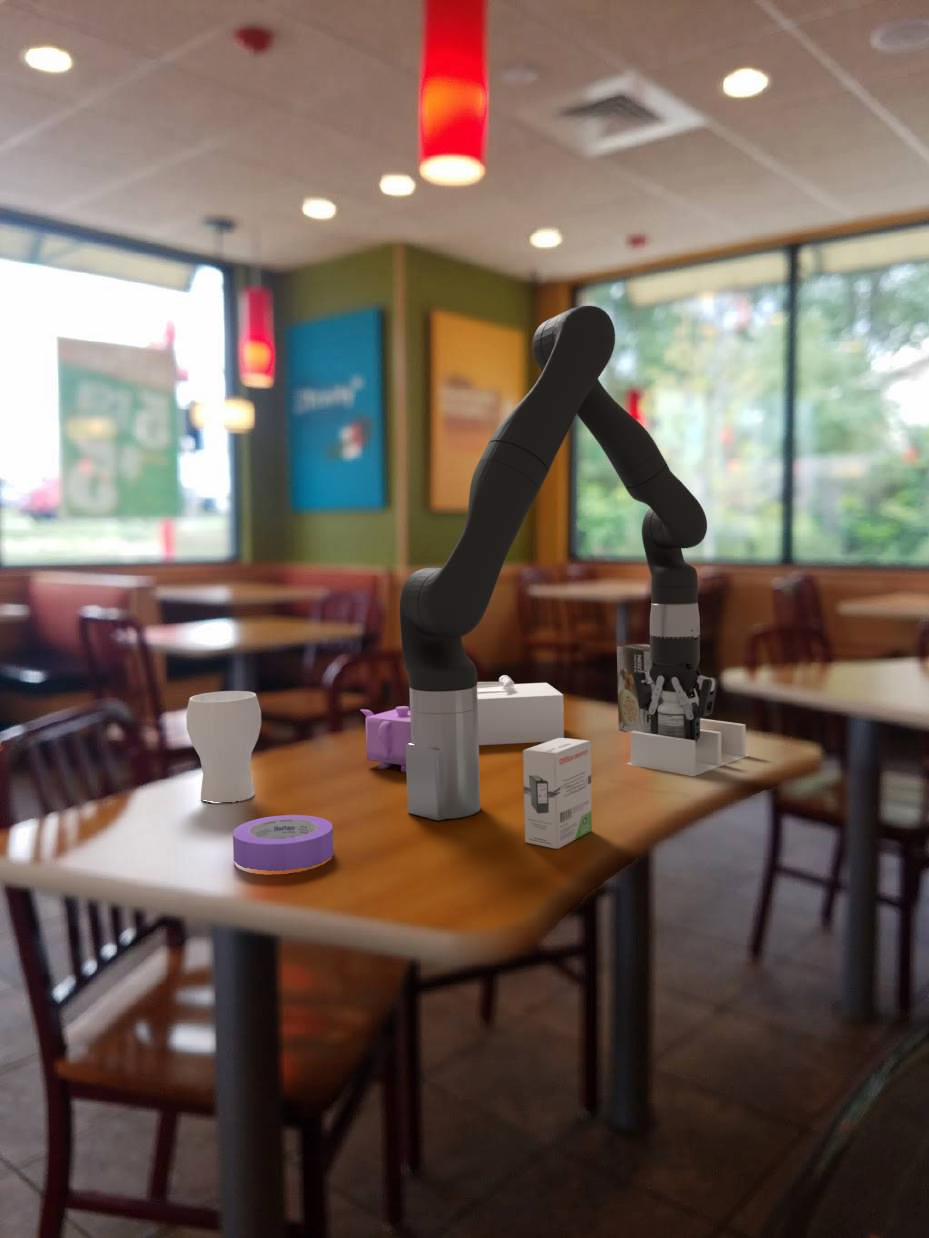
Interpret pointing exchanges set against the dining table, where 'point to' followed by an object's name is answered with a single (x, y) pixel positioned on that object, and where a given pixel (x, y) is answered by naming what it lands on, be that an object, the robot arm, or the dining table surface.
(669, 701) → the pill bottle
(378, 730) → the teapot
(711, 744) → the rack
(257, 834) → the masking tape
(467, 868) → the dining table surface
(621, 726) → the coffee box
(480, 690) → the tissue box
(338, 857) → the dining table surface
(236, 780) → the cup
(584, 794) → the ink box
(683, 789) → the dining table surface
